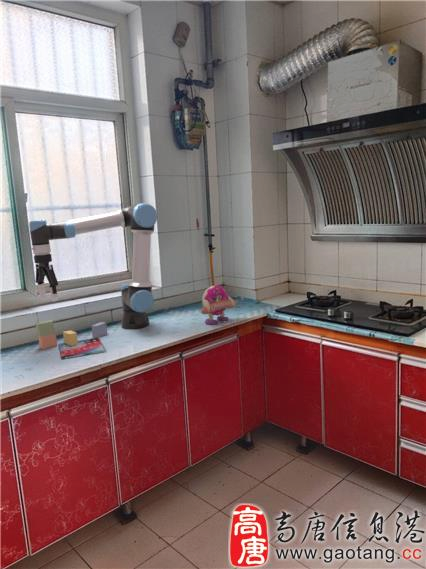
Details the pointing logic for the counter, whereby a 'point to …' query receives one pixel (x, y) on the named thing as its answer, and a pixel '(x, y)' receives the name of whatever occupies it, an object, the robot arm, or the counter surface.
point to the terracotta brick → (47, 341)
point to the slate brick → (99, 329)
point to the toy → (216, 304)
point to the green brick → (45, 328)
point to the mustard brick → (70, 338)
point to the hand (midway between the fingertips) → (49, 299)
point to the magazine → (81, 348)
